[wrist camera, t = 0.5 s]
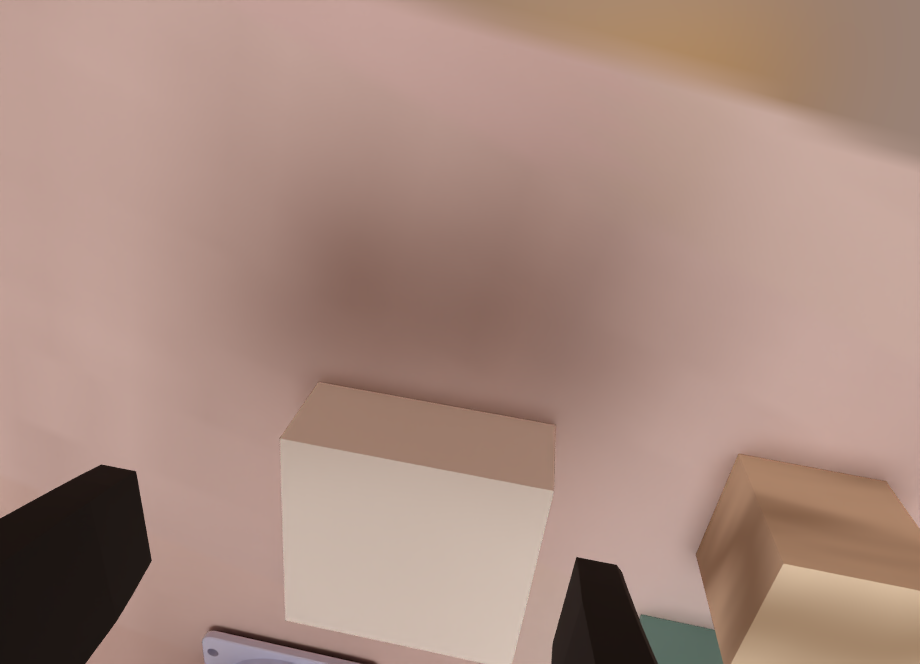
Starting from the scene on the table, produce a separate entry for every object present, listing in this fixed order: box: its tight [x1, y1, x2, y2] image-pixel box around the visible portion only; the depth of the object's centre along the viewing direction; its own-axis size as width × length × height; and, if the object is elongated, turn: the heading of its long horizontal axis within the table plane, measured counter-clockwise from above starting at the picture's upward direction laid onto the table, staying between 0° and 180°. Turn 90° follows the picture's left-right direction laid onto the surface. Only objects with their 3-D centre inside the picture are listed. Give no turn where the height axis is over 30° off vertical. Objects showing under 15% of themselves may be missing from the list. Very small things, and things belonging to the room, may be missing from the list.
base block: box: [280, 382, 556, 664], centre depth 21 cm, size 8×8×4 cm
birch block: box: [696, 454, 920, 664], centre depth 18 cm, size 4×4×4 cm
